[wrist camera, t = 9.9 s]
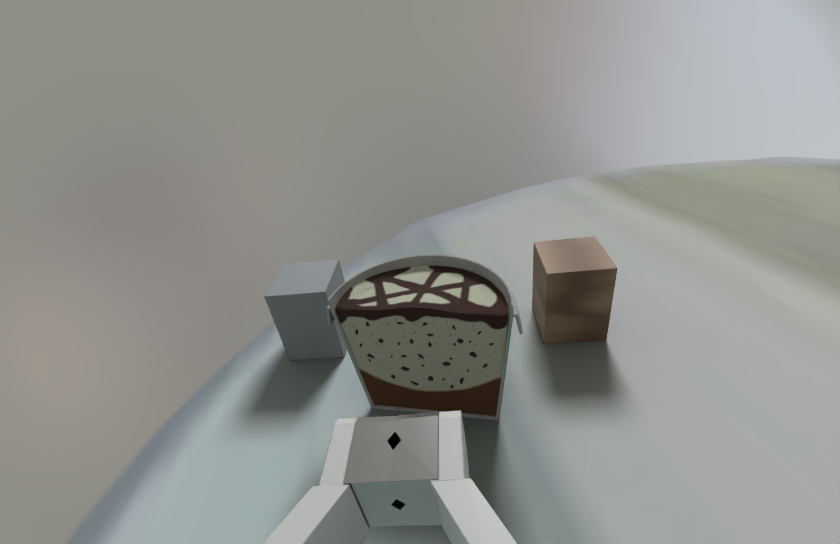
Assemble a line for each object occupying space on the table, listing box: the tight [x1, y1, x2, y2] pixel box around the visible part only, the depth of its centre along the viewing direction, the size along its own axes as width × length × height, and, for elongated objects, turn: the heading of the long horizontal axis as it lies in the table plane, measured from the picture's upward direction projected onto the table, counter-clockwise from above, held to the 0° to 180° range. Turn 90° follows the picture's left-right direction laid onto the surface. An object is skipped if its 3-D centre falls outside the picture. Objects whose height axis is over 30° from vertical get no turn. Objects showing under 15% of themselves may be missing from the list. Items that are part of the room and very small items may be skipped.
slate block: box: [264, 259, 347, 360], centre depth 36 cm, size 5×5×7 cm
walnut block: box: [532, 237, 617, 344], centre depth 34 cm, size 5×5×7 cm
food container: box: [327, 255, 523, 420], centre depth 29 cm, size 12×6×10 cm, turn 78°
